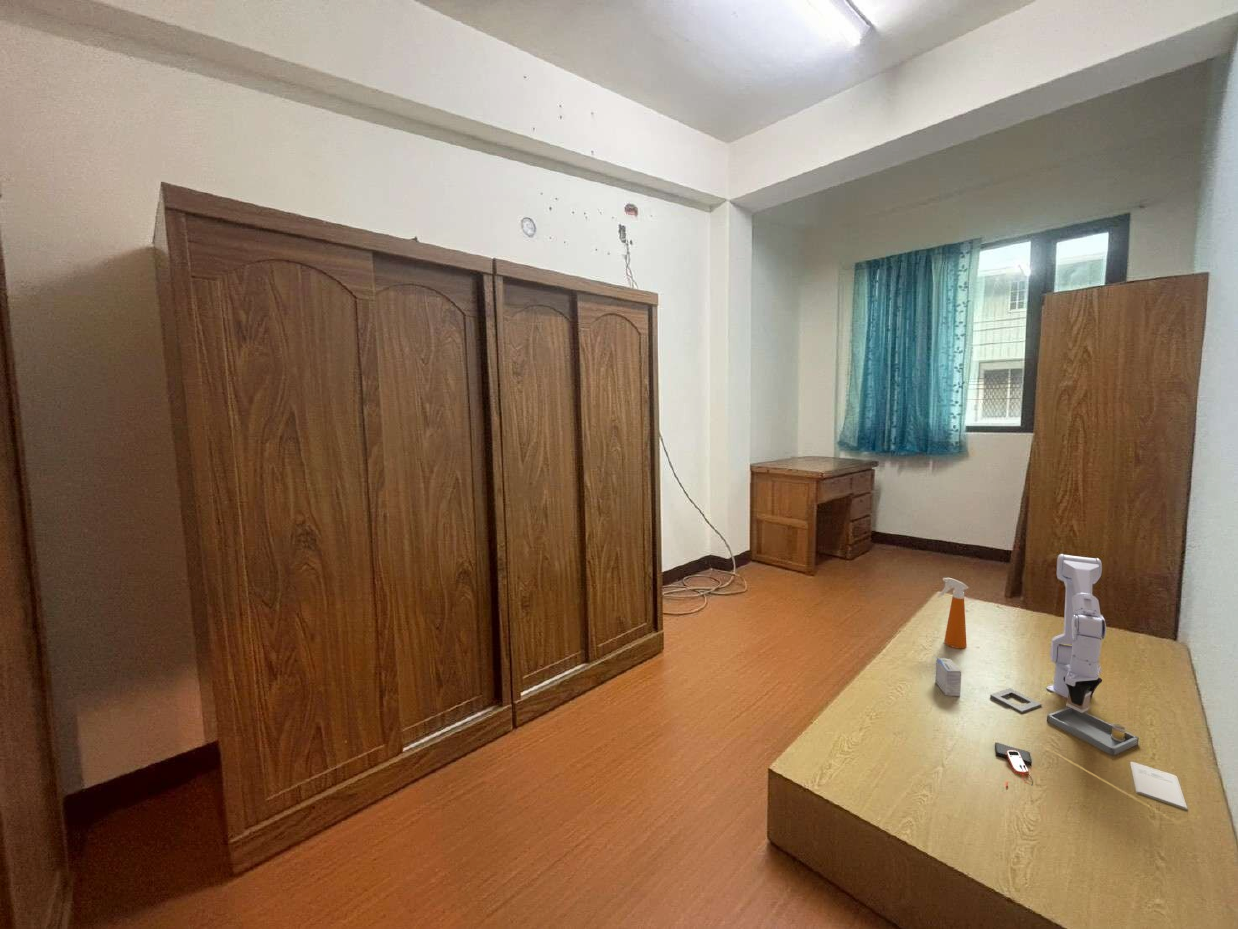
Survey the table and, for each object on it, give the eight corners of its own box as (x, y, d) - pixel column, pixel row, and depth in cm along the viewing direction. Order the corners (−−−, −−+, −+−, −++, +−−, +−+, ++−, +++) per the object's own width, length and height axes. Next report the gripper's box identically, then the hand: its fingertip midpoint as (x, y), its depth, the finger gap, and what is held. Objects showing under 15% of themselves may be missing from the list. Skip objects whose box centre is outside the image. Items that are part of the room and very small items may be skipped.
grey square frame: (1009, 691, 160) (1009, 688, 160) (1041, 707, 152) (1041, 704, 152) (990, 698, 157) (990, 694, 157) (1021, 715, 149) (1021, 711, 149)
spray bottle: (930, 638, 195) (934, 574, 191) (960, 639, 193) (964, 574, 189) (939, 648, 188) (943, 581, 184) (970, 649, 186) (975, 581, 182)
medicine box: (960, 697, 158) (962, 671, 157) (944, 695, 159) (946, 670, 158) (949, 682, 166) (951, 658, 165) (934, 681, 167) (936, 657, 166)
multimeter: (1056, 811, 116) (1058, 797, 116) (992, 787, 124) (993, 774, 123) (1052, 765, 130) (1053, 753, 130) (994, 746, 138) (995, 734, 137)
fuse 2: (1114, 735, 138) (1115, 722, 138) (1126, 741, 136) (1128, 727, 135) (1108, 737, 138) (1110, 724, 137) (1120, 743, 135) (1122, 730, 135)
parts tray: (1071, 713, 149) (1071, 705, 149) (1137, 746, 135) (1138, 737, 135) (1046, 722, 145) (1047, 715, 145) (1112, 757, 131) (1113, 749, 131)
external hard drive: (1135, 796, 119) (1129, 766, 129) (1187, 814, 114) (1176, 781, 123) (1136, 790, 119) (1130, 760, 128) (1187, 808, 114) (1177, 775, 123)
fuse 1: (1073, 701, 145) (1075, 684, 144) (1089, 709, 142) (1091, 691, 141) (1066, 705, 143) (1068, 687, 142) (1082, 712, 140) (1084, 695, 139)
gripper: (1081, 644, 146) (1076, 687, 148) (1053, 656, 140) (1049, 701, 142) (1112, 655, 140) (1107, 700, 142) (1085, 668, 134) (1080, 715, 136)
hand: (1080, 701), depth 142 cm, fingers closed on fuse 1, 4 cm apart
